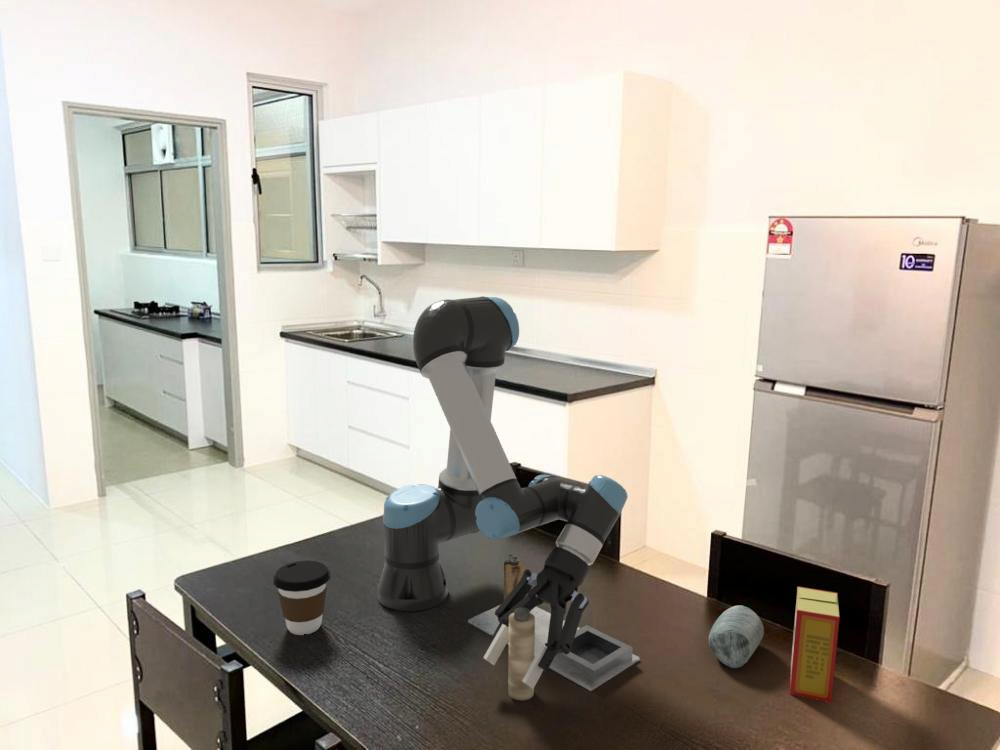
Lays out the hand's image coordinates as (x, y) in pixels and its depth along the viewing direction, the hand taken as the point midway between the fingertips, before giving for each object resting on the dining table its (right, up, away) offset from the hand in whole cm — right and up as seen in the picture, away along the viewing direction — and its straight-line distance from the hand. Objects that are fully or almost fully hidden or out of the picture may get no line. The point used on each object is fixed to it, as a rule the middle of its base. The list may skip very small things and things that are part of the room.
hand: (507, 672), depth 128 cm
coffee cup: (-40, -1, +24) cm, 47 cm away
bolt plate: (+8, -1, +20) cm, 21 cm away
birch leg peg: (+2, -5, +3) cm, 6 cm away
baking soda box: (+53, -4, +6) cm, 54 cm away
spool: (+43, -3, +16) cm, 46 cm away
